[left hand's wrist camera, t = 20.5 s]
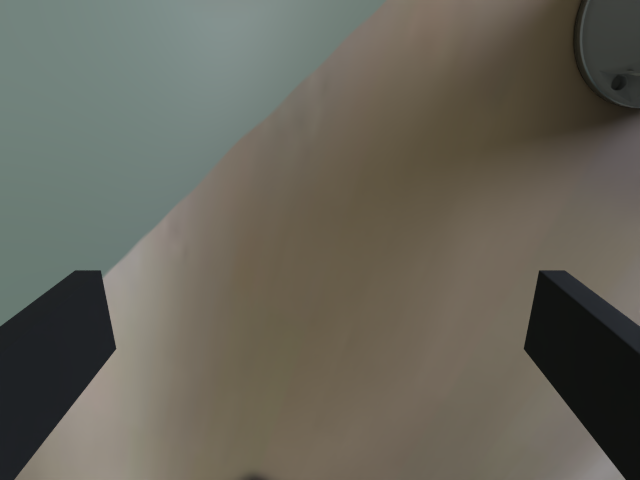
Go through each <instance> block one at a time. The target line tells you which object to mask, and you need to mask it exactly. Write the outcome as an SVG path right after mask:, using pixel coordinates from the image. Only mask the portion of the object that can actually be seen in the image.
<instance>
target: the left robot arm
mask: <svg viewBox="0 0 640 480" xmlns="http://www.w3.org/2000/svg"><path fill="white" fill-rule="evenodd" d="M574 50H575V57H576V61H577V65H578V68H579V70H580V73H581V75H582V77H583V79H584V80H585V82H586V83H587V85H588V86H589V87H590V88H591V89H592V90H593V91H594V92H595V93H596V94H597V95H598V96H599V97H601V98H603V99H604V100H606V101H608V102H610V103H612V104H615V105H618V106H623V107H630V108H640V0H582V3H581V5H580V8H579V11H578V15H577V19H576V24H575V32H574ZM115 350H116V345H115V340H114V335H113V330H112V325H111V320H110V315H109V310H108V305H107V300H106V295H105V290H104V285H103V280H102V274H101V271H74V272H73V273H71V274H70V275H69V276H67V277H66V278H65V279H63V280H62V281H60V282H59V283H58V284H57V285H55V286H54V287H53V288H51V289H50V290H49V291H47V292H46V293H44V294H43V295H42V296H40V297H39V298H38V299H36V300H35V301H34V302H32V303H31V304H30V305H28V306H27V307H26V308H24V309H23V310H22V311H20V312H19V313H18V314H16V315H15V316H14V317H12V318H11V319H10V320H8V321H7V322H6V323H4V324H3V325H2V326H0V480H14V479H15V478H16V477H17V475H18V474H19V473H20V471H21V470H22V469H23V468H24V466H25V465H26V464H27V463H28V461H29V460H30V459H31V457H32V456H33V455H34V454H35V452H36V451H37V450H38V448H39V447H40V446H41V445H42V443H43V442H44V441H45V439H46V438H47V437H48V436H49V434H50V433H51V432H52V430H53V429H54V428H55V427H56V425H57V424H58V423H59V421H60V420H61V419H62V418H63V416H64V415H65V414H66V413H67V411H68V410H69V409H70V407H71V406H72V405H73V404H74V402H75V401H76V400H77V398H78V397H79V396H80V395H81V393H82V392H83V391H84V389H85V388H86V387H87V386H88V384H89V383H90V382H91V380H92V379H93V378H94V377H95V375H96V374H97V373H98V371H99V370H100V369H101V368H102V366H103V365H104V364H105V363H106V361H107V360H108V359H109V357H110V356H111V355H112V354H113V352H114V351H115ZM524 350H525V351H526V352H527V354H528V355H529V356H530V357H531V359H532V360H533V361H534V363H535V364H536V365H537V366H538V368H539V369H540V370H541V371H542V373H543V374H544V375H545V377H546V378H547V379H548V380H549V382H550V383H551V384H552V386H553V387H554V388H555V389H556V391H557V392H558V393H559V395H560V396H561V397H562V398H563V400H564V401H565V402H566V404H567V405H568V406H569V407H570V409H571V410H572V411H573V413H574V414H575V415H576V416H577V418H578V419H579V420H580V421H581V423H582V424H583V425H584V427H585V428H586V429H587V430H588V432H589V433H590V434H591V436H592V437H593V438H594V439H595V441H596V442H597V443H598V445H599V446H600V447H601V448H602V450H603V451H604V452H605V454H606V455H607V456H608V457H609V459H610V460H611V461H612V463H613V464H614V465H615V466H616V468H617V469H618V470H619V471H620V473H621V474H622V475H623V477H624V478H625V479H626V480H640V326H638V325H637V324H636V323H634V322H633V321H632V320H630V319H629V318H628V317H626V316H625V315H624V314H622V313H621V312H620V311H618V310H617V309H616V308H614V307H613V306H612V305H610V304H609V303H608V302H606V301H605V300H604V299H602V298H601V297H600V296H598V295H597V294H596V293H594V292H593V291H592V290H590V289H589V288H588V287H586V286H585V285H584V284H582V283H581V282H580V281H578V280H577V279H575V278H574V277H573V276H571V275H570V274H569V273H567V272H566V271H539V274H538V279H537V285H536V290H535V295H534V300H533V305H532V310H531V315H530V320H529V325H528V330H527V335H526V340H525V345H524Z"/></svg>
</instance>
